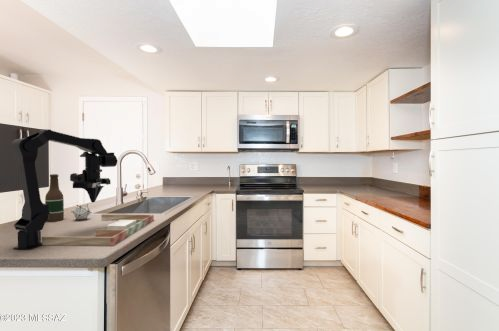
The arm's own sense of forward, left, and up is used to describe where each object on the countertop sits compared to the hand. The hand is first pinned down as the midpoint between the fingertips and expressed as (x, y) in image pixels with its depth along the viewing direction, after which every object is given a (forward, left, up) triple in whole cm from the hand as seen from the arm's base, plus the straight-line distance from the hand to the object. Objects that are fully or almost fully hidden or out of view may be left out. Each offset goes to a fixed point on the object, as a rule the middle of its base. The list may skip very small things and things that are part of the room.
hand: (93, 202), depth 119 cm
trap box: (0, -6, -13) cm, 14 cm away
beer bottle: (+18, +31, -13) cm, 39 cm away
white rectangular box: (0, -13, -13) cm, 18 cm away
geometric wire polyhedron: (+20, +19, -13) cm, 30 cm away
